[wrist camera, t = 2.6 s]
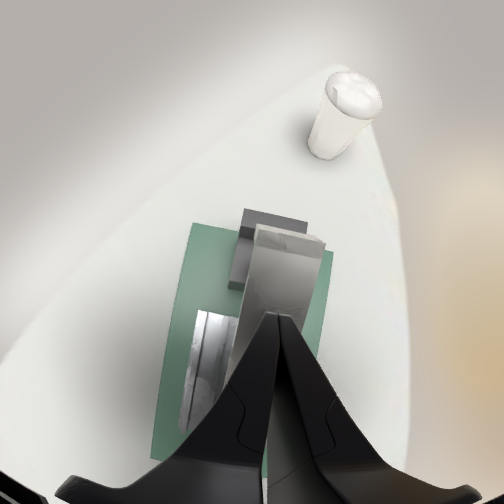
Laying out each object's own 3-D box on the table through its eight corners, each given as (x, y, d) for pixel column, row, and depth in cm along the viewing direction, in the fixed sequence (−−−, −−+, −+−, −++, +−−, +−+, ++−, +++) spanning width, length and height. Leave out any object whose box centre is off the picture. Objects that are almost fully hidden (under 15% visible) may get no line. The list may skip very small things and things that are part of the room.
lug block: (274, 297, 23) (296, 291, 16) (227, 288, 23) (229, 278, 16) (282, 248, 24) (307, 222, 17) (237, 239, 23) (244, 208, 16)
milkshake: (284, 140, 26) (312, 66, 17) (325, 120, 27) (362, 52, 18) (314, 178, 26) (358, 114, 16) (354, 154, 27) (404, 93, 17)
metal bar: (238, 484, 15) (237, 510, 13) (201, 479, 15) (198, 505, 13) (313, 235, 12) (328, 244, 10) (256, 223, 12) (259, 229, 10)
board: (284, 474, 21) (286, 478, 20) (152, 454, 20) (150, 458, 19) (330, 253, 25) (333, 252, 24) (193, 225, 24) (192, 222, 23)
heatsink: (268, 433, 21) (274, 447, 18) (180, 419, 20) (175, 432, 17) (290, 327, 22) (300, 329, 20) (200, 310, 22) (197, 310, 19)
